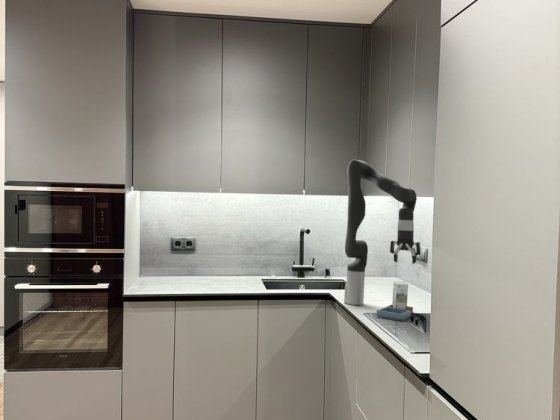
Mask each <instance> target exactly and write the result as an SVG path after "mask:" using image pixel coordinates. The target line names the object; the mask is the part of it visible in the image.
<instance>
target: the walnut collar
mask: <svg viewBox="0 0 560 420" xmlns="http://www.w3.org/2000/svg"><path fill="white" fill-rule="evenodd" d="M386 307H392V304H390V305H386ZM392 308H393V307H392ZM398 309H399V308H398ZM404 310H410V311H411V314H412V313H414V307H413V306H410V305H409V306H408V305H407V309H404Z"/></svg>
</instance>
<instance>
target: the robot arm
mask: <svg viewBox="0 0 560 420" xmlns="http://www.w3.org/2000/svg"><path fill="white" fill-rule="evenodd" d="M346 169H347V187H348V190H347V196H348V197H347V198H348V199H347V221H346V222H347V223H346V224H347V225H346V226H347V227H346V235H345V242H344V243H345V244H344V252H345V255H346V257H347V258H349V259H352V258H353V259H355V260H353V262H351V263H349V264H347V270H346V284H345V285H344V299H343V303H344V304H347V305H353V306H362V305H364V300H365V299H364V298H365V277H366V267H367V263H368V253H369V252H368V251H369V246H368V243H367V242H366V240H361V239H358V240H357V233H358V230H359V228H360V226H361V224H362V223H363V221H364V219H365V217H366V205H367V204H366V200H365V196H364V193H363V191H362V183H361V181H362V179H363V180H365V181H366V180H367V181H369V182H370V183H373V184H374V185H375V186H377V188H378V189H380V190H381V191H383V192H384V193H386V194H387V195H390V196H391V197H392V198H393V199H395V200H397V201H398V202H399V203H401V204H402V207H401V208H399V209H398V222H397V238H396V239H397V240H391V241H390V245H389V246H390V247H389V253H390V254H393V261H394V263H398V259H399V258H398V257H399V252H400V251H409V252H410V253H411V254H412V259H411V260H412V261H411V263H412V264H413V265H415V264H416V263H417V256H419V255H421V254H422V253H421V242H420V241H417V242H414V234H415V232H414V230H415V229H414V227H415V226H414V225H415V224H414V223H415V222H414V218H415V216H414V212H415V207H416V204H417V200H418V198H417V197H418V196H417V193H415V192H416V191H415V190H414V189H412V188H405V187H403V186H401V185H400V183H398V181H396V180H393V179H392V178H390V177H388V176H386V175H384V174H382V173H381V172H379V171H377V170H376V169H375V168H373V167H372V166H371V165H370V164H369V163H367V162H366V161H363V160H361V159H359V160H358V159H352V160H350V162H349V163H348V165H347V168H346ZM416 196H417V197H416ZM395 246H397V247H396V249H395ZM414 246H415V247H416V251H415V249H414Z"/></svg>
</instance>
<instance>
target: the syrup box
mask: <svg viewBox="0 0 560 420" xmlns="http://www.w3.org/2000/svg"><path fill="white" fill-rule="evenodd" d="M392 285H393V286H392V304H391V305H392V307H393V308H399V309H407V306H408V294H409V284H408V283H407V282H406V281H405V282H404V281H393V284H392Z"/></svg>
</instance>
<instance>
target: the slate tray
mask: <svg viewBox="0 0 560 420" xmlns="http://www.w3.org/2000/svg"><path fill="white" fill-rule="evenodd" d="M411 314H412V313H411V311H410V310H404V309H398V308H392V307H387V306H385V307H381V308H378V309H377V310H376V316H378V317H377V318H380V317H383V318H382V319H386V318H388V319H387V320H393V321H398V322H403V321H405V320H407V319H410V318H411V317H410V315H411ZM376 316H375V317H376ZM411 316H412V315H411ZM409 317H410V318H409Z"/></svg>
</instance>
